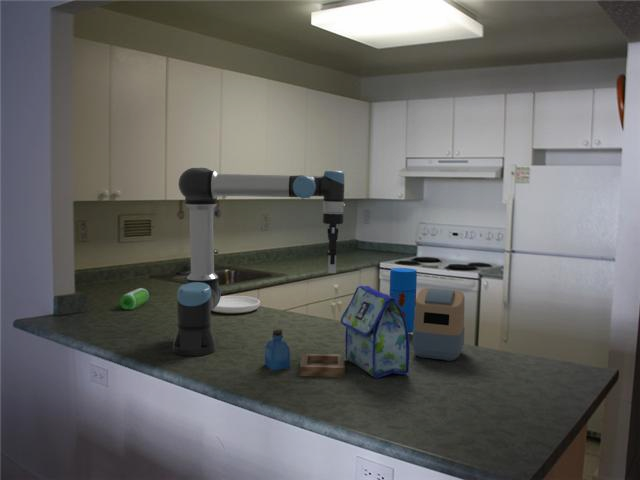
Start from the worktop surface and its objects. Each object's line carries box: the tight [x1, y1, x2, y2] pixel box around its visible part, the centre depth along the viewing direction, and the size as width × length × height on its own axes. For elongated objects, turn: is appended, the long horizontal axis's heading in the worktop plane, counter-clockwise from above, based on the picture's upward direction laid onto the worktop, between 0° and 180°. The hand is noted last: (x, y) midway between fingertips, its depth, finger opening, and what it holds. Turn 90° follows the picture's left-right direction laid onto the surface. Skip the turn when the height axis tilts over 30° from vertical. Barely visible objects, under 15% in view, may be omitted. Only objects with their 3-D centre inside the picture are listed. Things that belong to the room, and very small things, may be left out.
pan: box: [211, 295, 261, 315], centre depth 287 cm, size 25×44×6 cm, turn 51°
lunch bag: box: [340, 285, 411, 379], centre depth 199 cm, size 22×17×26 cm
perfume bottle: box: [264, 329, 291, 371], centre depth 200 cm, size 6×6×12 cm
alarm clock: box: [412, 287, 465, 362], centre depth 215 cm, size 17×17×23 cm
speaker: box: [119, 287, 150, 311], centre depth 283 cm, size 18×7×8 cm, turn 172°
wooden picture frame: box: [299, 353, 346, 378], centre depth 198 cm, size 14×14×3 cm
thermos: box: [388, 267, 418, 334], centre depth 249 cm, size 11×11×25 cm
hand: (331, 270), depth 225 cm, fingers open, 13 cm apart
